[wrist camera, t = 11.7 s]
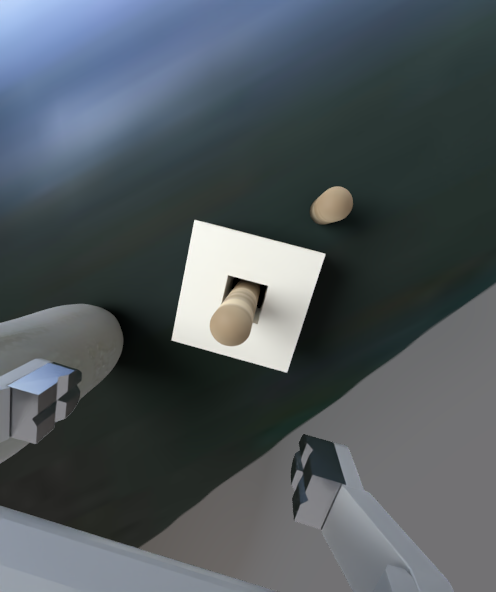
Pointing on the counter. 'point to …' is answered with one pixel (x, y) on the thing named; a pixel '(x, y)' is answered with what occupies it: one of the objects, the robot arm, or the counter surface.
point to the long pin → (236, 314)
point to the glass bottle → (61, 347)
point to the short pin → (331, 206)
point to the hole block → (253, 267)
